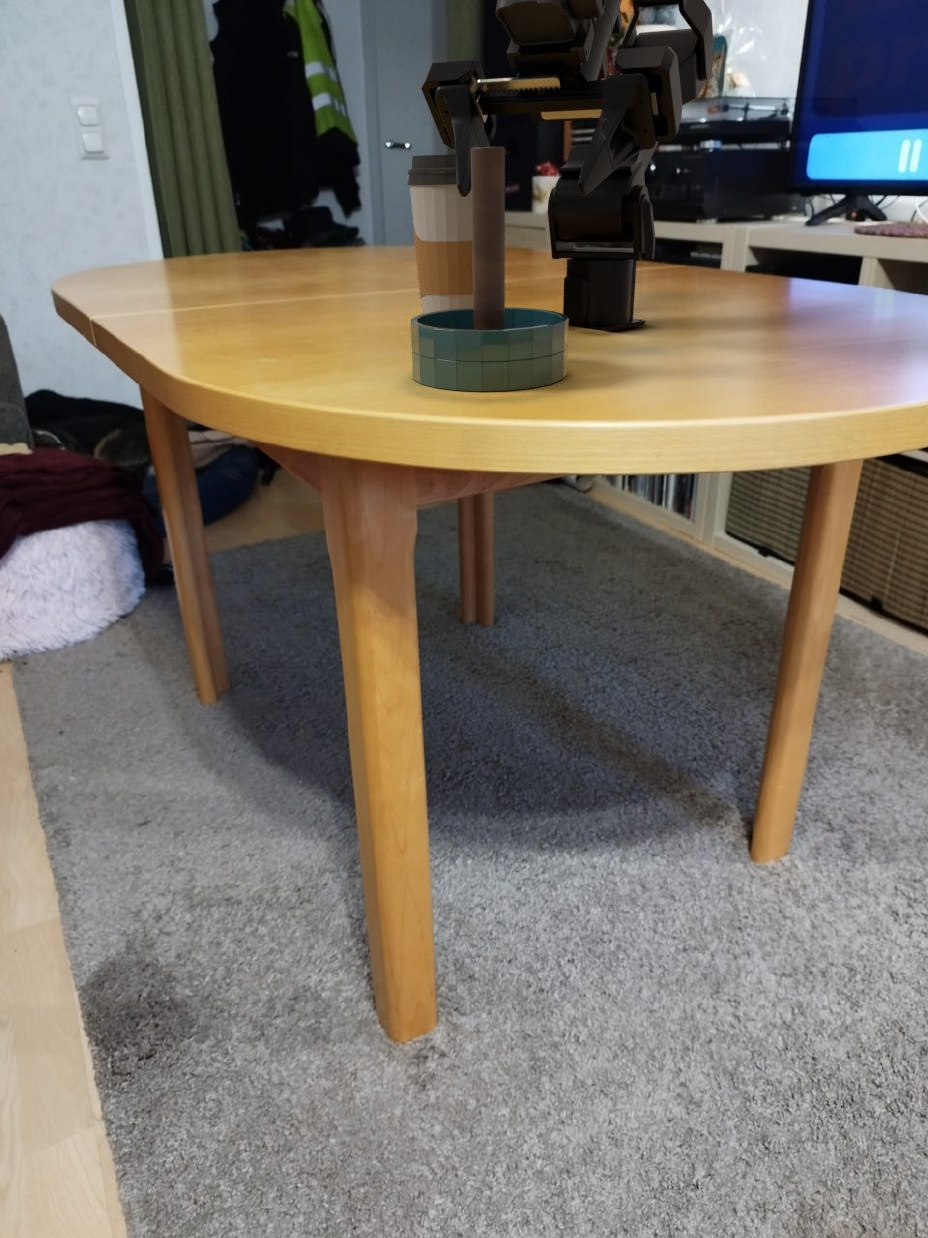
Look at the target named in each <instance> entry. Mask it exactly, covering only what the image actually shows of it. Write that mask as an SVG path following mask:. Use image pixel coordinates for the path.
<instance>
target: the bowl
mask: <svg viewBox="0 0 928 1238" xmlns="http://www.w3.org/2000/svg"><path fill="white" fill-rule="evenodd" d="M568 325H569V318H568V317H567V316H566V315H565V314H563V312H562V313H561V312H559V311H554V310H548V309H542V308H529V307H511V306H510V307H506V306H505V329H494V330H474V329H473V308H464V309H452V310H443V311H435V312H430V313H425V314H423V313H420V314H418V315H416V316H414V317H411V318H410V340H411V344H410V345H411V362H412V364H411V365H412V379H413V380H414V381H416V382H417V383H419V384H420V385H424V386H428V387H432V388H436V389H441V390H451V391H459V392H460V391H461V392H508V391H509V392H510V391H517V390H519V391H520V390H529V389H535V388H539V387H545V386H549V385H553V384H555V383H557V382H559V381H562V380H564V378H565V377H566V376H567V375H568V352H569V326H568Z"/></svg>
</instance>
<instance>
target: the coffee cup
mask: <svg viewBox="0 0 928 1238" xmlns="http://www.w3.org/2000/svg"><path fill="white" fill-rule="evenodd" d="M411 159H412V160H411V168H410V169H408V170H407V175H408V180H407V186H409V192H410V201H411V203H410V204H411V212H412V222H413V228H412V231H413V232H412V233H413V240H414V250H415V260H416V271H417V279H418V280H417V281H418V289H419V297H420V301H421V310H422V314H425V313H430V312H435V311H443V310H452V309H464V308H473V260H472V192H471V191H470V192H469V194H468V195H467V196H466V197H461V196H460V193H459V191H458V188H457V176H456V154H431V155H430V154H429V155H428V154H426V155H425V154H424V155H412V157H411Z"/></svg>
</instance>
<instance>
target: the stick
mask: <svg viewBox="0 0 928 1238" xmlns="http://www.w3.org/2000/svg"><path fill="white" fill-rule="evenodd" d="M471 192H472V260H473V329H474V330H494V329H505V307H506V305H505V304H506V303H505V302H506V295H505V294H506V292H505V291H506V285H505V284H506V283H505V281H506V274H505V273H506V268H505V267H506V265H505V263H506V255H505V254H506V251H505V249H506V240H505V239H506V228H505V227H506V148H505V146H490V147H473V148H471Z"/></svg>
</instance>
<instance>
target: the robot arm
mask: <svg viewBox="0 0 928 1238" xmlns="http://www.w3.org/2000/svg"><path fill="white" fill-rule="evenodd" d="M631 1H632V8H633V11H632V13H631V15H630V18H629V21H628V24H627V28H626V30H625V32H624V36H623V39H622V43H621V48H618V49H617V51H616V54H615V57H614V66H615V69H616V70H617V71H618V72H619V73H620V74H609V75H607V73H608V70H609V65H608V61H607V49H608V46H609V43H610V40H611V37H612V35H619V34H621V33H622V30H623V17H622V10H621V5H622V2H623V0H497V1H496V7H495V17H496V19H497V20H498V22H501V25H502V26H503V28H504V29H505V31H506V33H507V35H508V37H509V38H510V42H509V45H508V47H507V50H506V56H507V59H508V64H509V66H510V68H511V69H513V68H514V69H515V68H516V69H517V75H516V76H513V77H498V78H486V75H485V72H484V69H483V66H482V63H481V61H479V60H475V59H466V60H453V61H439V62H432V63H431V64H430V67H428V70H427V72H426V76H425V77H424V80H423V83H422V86H421V88H420V89H421V92H422V95H423V97H424V99H425V102H426V104H427V106H428V109H429V111H430V115H431V117H432V119H433V122H434V124H435V127H436V129H437V132H438V134H439V136H440V139H441V141H442V144H443V145H445V146H446V147H448V148H449V149H451V150H454V152H455V154H456V176H457V188H458V191H459V193H460V196H461V197H466V196H467V195H468V194H469V192H470V191H471V148H473V147H491V145H490V143H491V142H492V141H493V140H494V138H495V134H496V131H497V115H513V114H515V115H516V114H529V115H530V118H531V121H532V122H531V123H552V122H553V123H554V122H573V121H574V122H575V121H592V120H593V118H594V119H595V118H598V120H597V123H596V127H595V128H594V131H593V133H592V137H591V140H590V143H589V144H576V145H575V146H574V147H573V148H572V149H571V150H570V151H569V154H568V157H567V158H566V162H565V163H564V164H563V166H560V167H559V173H560V176H559V177H558V178H557V181H556V183H555V185H554V187H552V188H551V190H550V193H549V196H548V201H547V220H548V229H549V240H550V250H551V251H550V252H551V259H552V260H561V259H566V273H565V274H566V275H565V276H564V278H563V302H562V303H563V304H562V314H565V315H566V316H567V317H568V318H569V325H568V327H575V328H581V329H587V330H594V331H601V332H613V331H618V330H619V331H620V330H625V329H629V328H630V329H631V328H637V327H642V326H646V319H640V318H634V309H635V295H636V279H637V264H638V261H639V262H641V261H645V260H654V259H655V249H656V230H655V221H654V212H653V211H654V210H653V204H652V202H651V201H650V195H649V190H648V187H647V186H646V184H645V182H646V181H645V172H646V170H647V168H648V166H649V164H650V162H651V160H652V157H653V156H654V153H655V151H656V149H657V147H658V145H659V143H670V142H671V141H672V140H673V139H675V137H676V136H677V135H678V132H679V128H680V124H681V121H682V117H683V116H682V115H683V106H685V105H687V104H690V103H692V102H695V100H696V99H697V98H698V96H699V95H700V94H701V92H702V90H703V89H704V87H705V84H706V81H709V80H711V76H712V73H713V68H714V59H715V58H714V56H715V49H714V27H713V13H712V11H711V9H710V7H709V6H708V5H707V3H706V1H705V0H631ZM669 6H670V7H671V6H678V11H679V14H680V16H682V18H683V19H684V21H685V23H686V24H687V25H688V26H689V28H680V29H679V28H678V29H670V30H669V29H668V30H657V31H645V32H644V31H643V32H642V31H641V32H639V33H637V32H638V31H637V23H638V20H639V17H640V15H641V12H642V9H648V8H658V7H659V8H660V7H669ZM455 154H454V155H455ZM576 243H581V244H584V243H585V244H587V243H588V244H591V243H593V244H632V247H575V244H576Z"/></svg>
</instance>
